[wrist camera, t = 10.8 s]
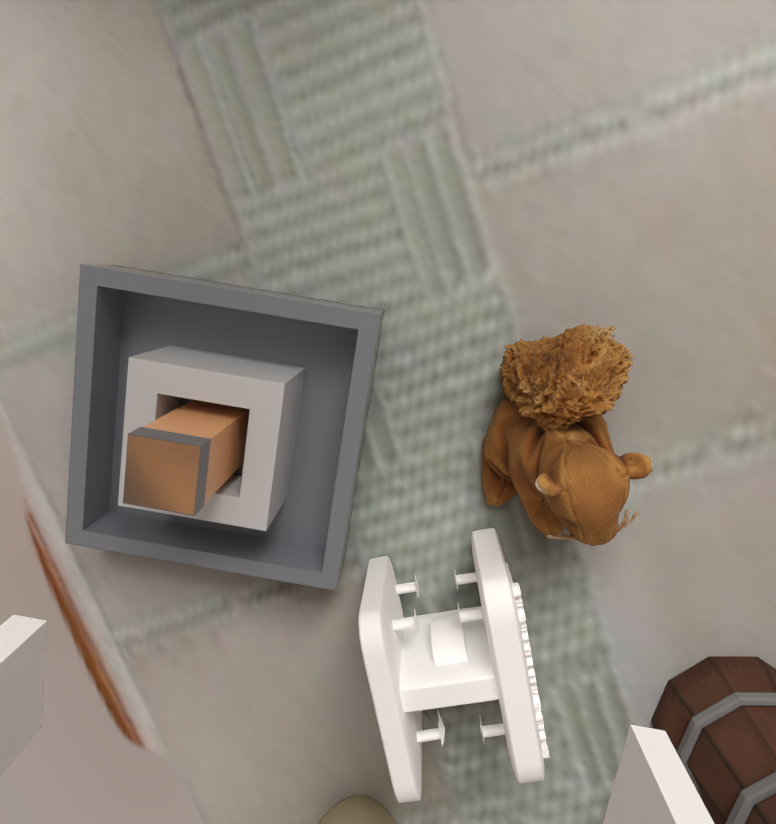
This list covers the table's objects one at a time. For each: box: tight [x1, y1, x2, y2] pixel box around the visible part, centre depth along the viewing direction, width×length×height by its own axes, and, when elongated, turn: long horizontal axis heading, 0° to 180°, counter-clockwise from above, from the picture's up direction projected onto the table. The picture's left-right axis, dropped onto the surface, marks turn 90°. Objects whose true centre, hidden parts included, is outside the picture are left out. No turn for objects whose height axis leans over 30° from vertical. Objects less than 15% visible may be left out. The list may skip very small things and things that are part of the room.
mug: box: [652, 657, 776, 824], centre depth 45 cm, size 16×12×15 cm
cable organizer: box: [358, 528, 549, 803], centre depth 46 cm, size 15×11×12 cm
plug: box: [123, 400, 249, 516], centre depth 40 cm, size 4×4×10 cm
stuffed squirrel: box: [481, 323, 653, 546], centre depth 41 cm, size 10×14×13 cm
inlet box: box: [65, 265, 384, 591], centre depth 45 cm, size 20×20×8 cm
